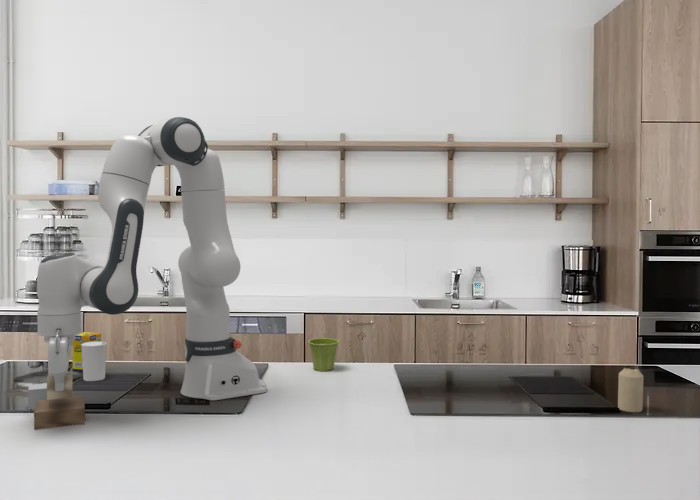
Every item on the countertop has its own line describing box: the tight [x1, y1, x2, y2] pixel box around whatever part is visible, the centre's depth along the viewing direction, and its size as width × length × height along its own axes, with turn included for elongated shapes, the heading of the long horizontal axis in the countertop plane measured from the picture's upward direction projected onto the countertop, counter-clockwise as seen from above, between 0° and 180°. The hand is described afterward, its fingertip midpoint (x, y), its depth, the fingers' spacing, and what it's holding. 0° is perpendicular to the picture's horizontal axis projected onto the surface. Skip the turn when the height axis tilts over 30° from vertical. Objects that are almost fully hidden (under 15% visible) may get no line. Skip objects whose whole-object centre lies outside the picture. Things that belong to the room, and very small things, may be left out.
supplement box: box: [71, 331, 102, 373], centre depth 188 cm, size 6×6×11 cm
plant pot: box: [307, 337, 340, 372], centre depth 191 cm, size 9×9×9 cm
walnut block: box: [33, 395, 86, 430], centre depth 141 cm, size 10×10×4 cm
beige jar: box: [617, 367, 644, 413], centre depth 152 cm, size 6×6×10 cm
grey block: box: [27, 382, 47, 411], centre depth 151 cm, size 5×5×5 cm
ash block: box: [46, 370, 74, 400], centre depth 141 cm, size 5×5×5 cm
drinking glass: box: [81, 341, 107, 382], centre depth 178 cm, size 7×7×10 cm
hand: (60, 386), depth 141 cm, fingers closed on ash block, 5 cm apart
